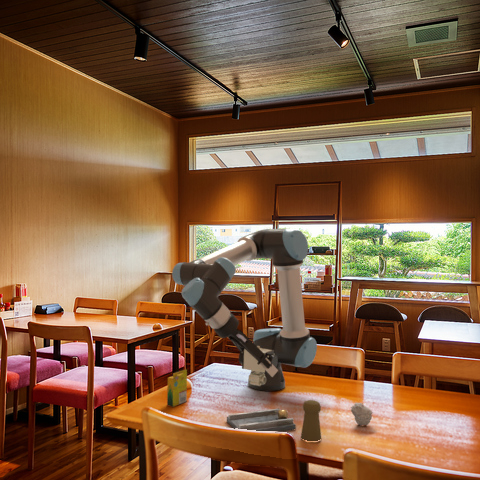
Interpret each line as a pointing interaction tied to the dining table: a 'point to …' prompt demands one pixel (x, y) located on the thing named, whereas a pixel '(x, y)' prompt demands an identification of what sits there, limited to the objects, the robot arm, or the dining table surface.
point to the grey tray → (262, 420)
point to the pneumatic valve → (256, 365)
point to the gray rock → (361, 414)
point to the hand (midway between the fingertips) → (267, 369)
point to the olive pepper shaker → (311, 421)
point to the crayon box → (177, 388)
